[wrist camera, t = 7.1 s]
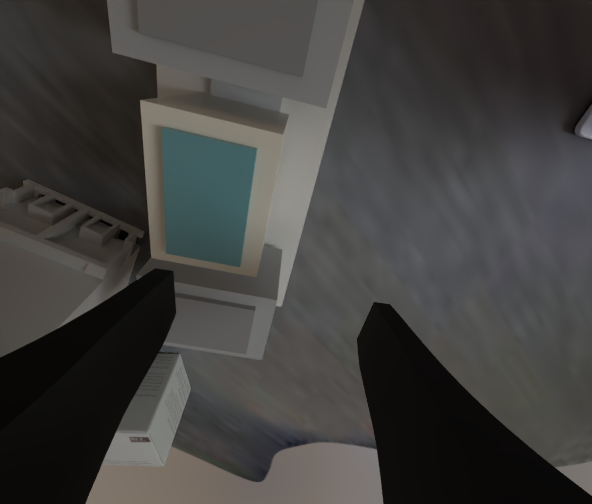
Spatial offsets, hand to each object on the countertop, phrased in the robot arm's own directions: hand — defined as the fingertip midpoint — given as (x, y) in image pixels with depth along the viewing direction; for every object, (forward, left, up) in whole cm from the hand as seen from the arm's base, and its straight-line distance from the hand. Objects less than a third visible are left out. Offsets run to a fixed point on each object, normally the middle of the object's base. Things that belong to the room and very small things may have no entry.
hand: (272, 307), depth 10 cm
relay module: (+3, -2, -8) cm, 9 cm away
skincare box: (+9, +21, -10) cm, 25 cm away
